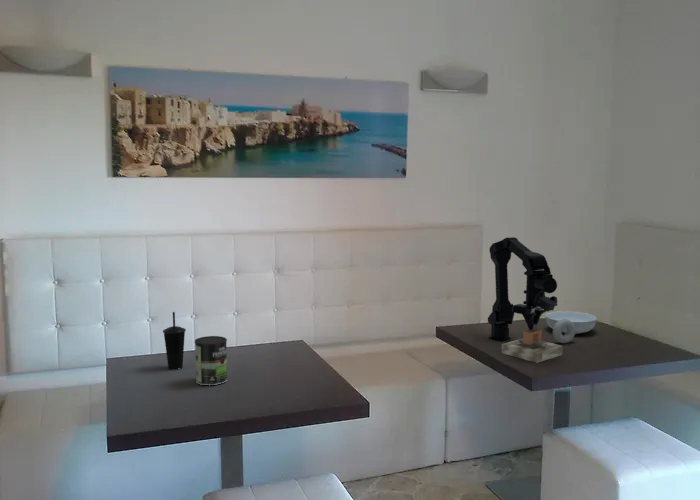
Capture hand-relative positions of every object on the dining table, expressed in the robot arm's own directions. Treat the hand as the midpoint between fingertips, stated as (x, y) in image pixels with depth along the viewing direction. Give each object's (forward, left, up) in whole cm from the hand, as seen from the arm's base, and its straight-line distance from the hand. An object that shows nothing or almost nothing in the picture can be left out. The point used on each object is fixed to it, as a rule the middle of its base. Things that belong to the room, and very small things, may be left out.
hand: (532, 329), depth 249 cm
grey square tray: (0, 0, -10) cm, 10 cm away
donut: (-1, +23, -10) cm, 25 cm away
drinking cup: (-69, -112, -10) cm, 132 cm away
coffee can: (-48, -109, -10) cm, 119 cm away
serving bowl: (-10, +42, -10) cm, 44 cm away
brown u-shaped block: (0, 0, -5) cm, 5 cm away
